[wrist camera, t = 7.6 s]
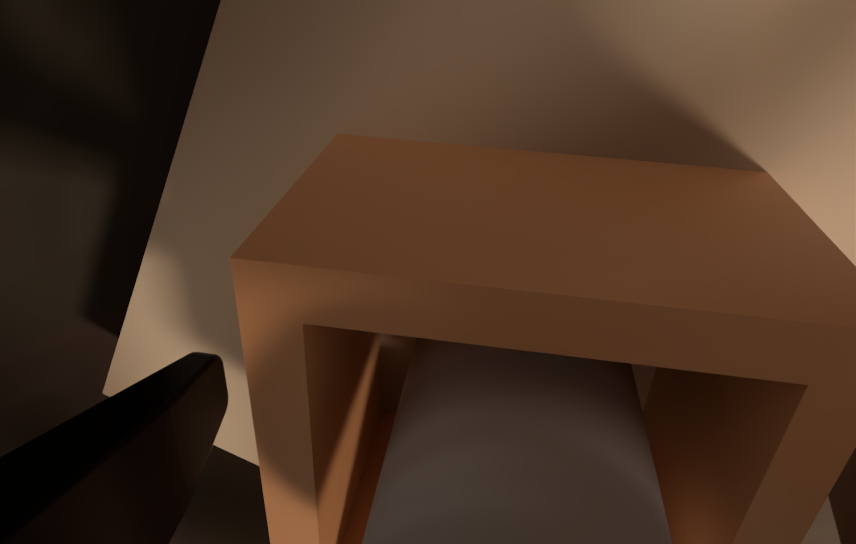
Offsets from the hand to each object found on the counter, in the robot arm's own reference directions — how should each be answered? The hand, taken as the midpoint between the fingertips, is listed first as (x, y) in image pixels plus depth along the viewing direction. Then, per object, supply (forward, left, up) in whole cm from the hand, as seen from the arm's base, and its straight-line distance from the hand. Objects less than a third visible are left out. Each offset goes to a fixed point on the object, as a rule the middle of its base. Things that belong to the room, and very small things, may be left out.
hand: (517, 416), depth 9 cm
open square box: (0, 0, -2) cm, 2 cm away
